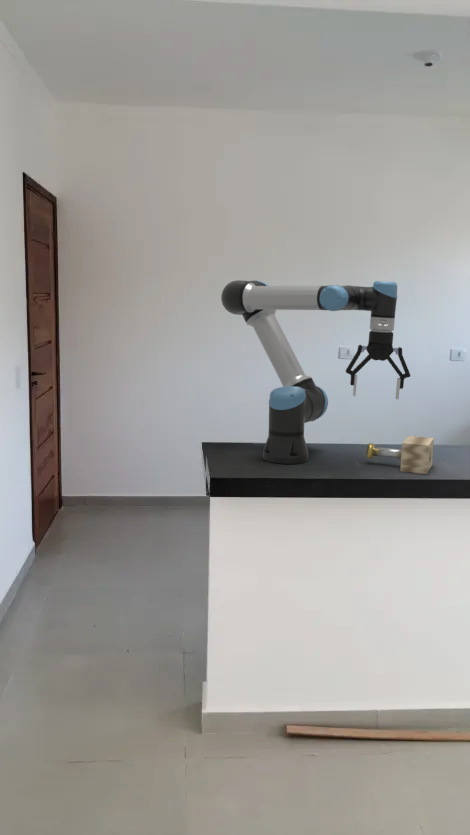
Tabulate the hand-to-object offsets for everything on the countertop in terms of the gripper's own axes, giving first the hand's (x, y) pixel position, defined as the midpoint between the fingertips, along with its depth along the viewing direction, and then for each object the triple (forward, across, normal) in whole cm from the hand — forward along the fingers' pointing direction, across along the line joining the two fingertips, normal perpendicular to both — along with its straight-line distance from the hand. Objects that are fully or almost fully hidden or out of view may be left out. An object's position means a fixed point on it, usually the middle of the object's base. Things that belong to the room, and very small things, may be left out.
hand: (375, 397), depth 224 cm
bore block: (+21, +14, -6) cm, 26 cm away
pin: (+20, +6, -4) cm, 21 cm away
